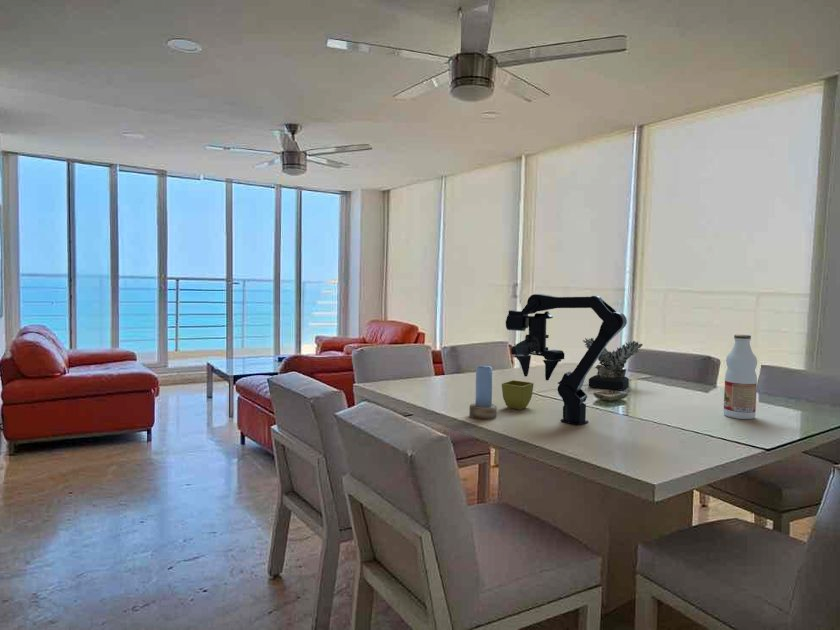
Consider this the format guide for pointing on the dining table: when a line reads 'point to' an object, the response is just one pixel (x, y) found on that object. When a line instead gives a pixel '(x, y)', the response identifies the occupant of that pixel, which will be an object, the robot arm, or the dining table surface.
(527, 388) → the flower pot
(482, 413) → the grey-beige round disc
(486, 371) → the vase
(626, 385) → the coral
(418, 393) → the dining table surface
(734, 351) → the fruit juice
